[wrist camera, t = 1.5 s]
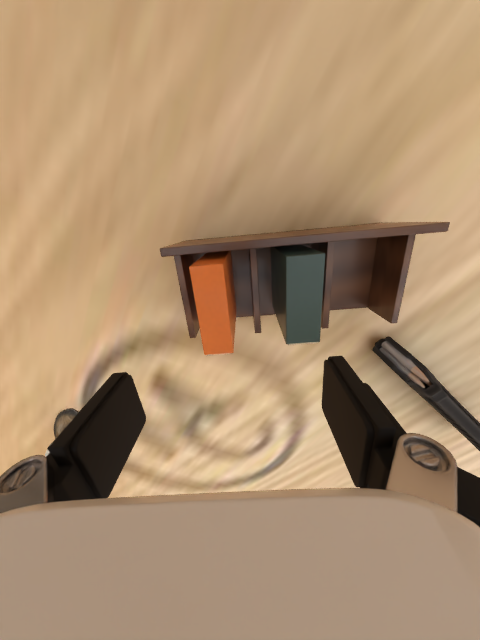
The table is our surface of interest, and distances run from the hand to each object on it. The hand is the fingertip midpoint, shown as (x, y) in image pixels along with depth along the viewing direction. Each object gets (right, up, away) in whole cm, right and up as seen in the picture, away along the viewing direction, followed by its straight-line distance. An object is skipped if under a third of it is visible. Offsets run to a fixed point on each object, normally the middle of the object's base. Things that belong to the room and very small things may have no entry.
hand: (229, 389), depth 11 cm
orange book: (-2, +9, +22) cm, 24 cm away
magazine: (+34, -8, +30) cm, 46 cm away
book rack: (+7, +10, +22) cm, 26 cm away
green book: (+7, +10, +22) cm, 25 cm away
